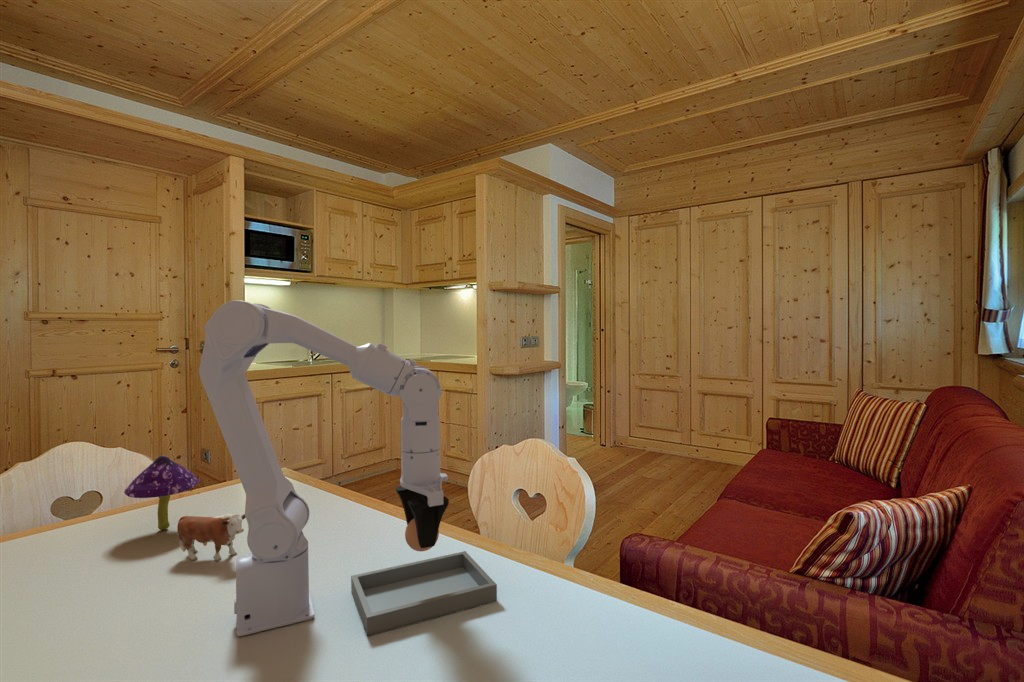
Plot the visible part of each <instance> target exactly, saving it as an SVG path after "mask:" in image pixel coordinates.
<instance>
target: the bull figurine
mask: <svg viewBox="0 0 1024 682" xmlns="http://www.w3.org/2000/svg"><path fill="white" fill-rule="evenodd" d="M243 520H246V517H245V513H244V514H242V515H240V514H239V513H234V514H232V513H226V514H224V515H223V514H222V515H218V516H195V515H183V516H181V517H180V518H179V520H178V523H177V527H176V530H177V534H178V535H177V536H178V544H179V547H180V549H181V551H182V552H184V553H185V552H186V551H187V553H188V555H187V556H188V557H187V558H188V559H190V560H191V561H196V560H198V558H199V557H198V556H197V553H198V552H199V551H198V550H197V548H196V546H195V541H196V542H198V543H200V544H202V545H203V546H204V547H206V546H208V543H214V549H215V553H214V555H213V558H212V559H214V561H216V562H221V560H222V556H221V555H220V552H221V550H222V546H227V547H228V554H229V555H230V556H231V555H234V556H236V554H237V555H238V552H237V551H235V549H234V546H233V545H234V544H233V541H234V540H235V539H236V535H238V534H241V533H243V532H244V528H243V524H242V521H243Z"/></svg>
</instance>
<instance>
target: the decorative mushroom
mask: <svg viewBox="0 0 1024 682" xmlns="http://www.w3.org/2000/svg"><path fill="white" fill-rule="evenodd" d="M199 483H200V479H199V478H198V477H197V476H195V474H194V473H192V472H191V471H190V470H189V469H187V468H186V467H184V466H182V465H181V464H179V463H177V462H175V461H173V460H172V459H171V458H170V457H168V456H166V455H160V456H158V457H157V458H155V460H153V462H152V463H151V464H150V465H149V466H147V467H146V468H144V470H143V471H141V472H140V473H139V474H138V475H137V476H136V477H135V478H134V479H133V480H132V481H131V482H130V484H128V486H127V487H126V488H125V489H124V492H123V493H124V495H126V497H129V498H133V499H134V498H135V499H150V498H159V500H158V505H157V524H158V525H157V528H158V530H161V531H165V530H167V529H169V527H170V526H171V525H170V522H169V502H170V499H171V495H176V494H180V493H184V492H186V491H189V490H191V489H193V488H195V487H196V486H198V484H199Z"/></svg>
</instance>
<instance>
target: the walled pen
mask: <svg viewBox="0 0 1024 682" xmlns="http://www.w3.org/2000/svg"><path fill="white" fill-rule="evenodd" d="M350 577H351V579H350V581H351V582H350V583H351V584H350V585H351V587H350V589H351V590H350V591H351V595H352V598H353V601H354V603H355V606H356V609H357V612H358V614H359V615H358V616H359V617H360V620H361V623H362V626H363V628H364V632H365V635H366V637H371V636H375V635H378V634H383V633H385V632H386V633H387V632H389V631H393V630H396V629H400V628H403V627H408V626H412V625H416V624H419V623H421V622H426V621H429V620H433V619H437V618H441V617H444V616H448V615H452V614H456V613H459V612H462V611H466V610H471V609H474V608H477V607H482V606H484V605H488V604H492V603H495V602H498V595H497V594H498V593H497V592H498V588H497V587H498V585H497V583H496V582H495V581H494V580H493V579H492V578H491V576H489V574H488V573H487V572H486V571H485V570H484V569H483V568H482V567H481V566H480V565H479V564H478V563H477V562H476V561H475V559H473V558H472V556H471V555H469V553H468V552H467V551H466V550H465V551H459V552H455V553H451V554H446V555H440V556H437V557H432V558H426V559H423V560H418V561H417V560H416V561H413V562H409V563H405V564H404V563H403V564H400V565H395V566H391V567H386V568H382V569H378V570H377V569H376V570H372V571H368V572H363V573H358V574H353V575H351V576H350Z"/></svg>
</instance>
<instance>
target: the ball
mask: <svg viewBox="0 0 1024 682" xmlns="http://www.w3.org/2000/svg"><path fill="white" fill-rule="evenodd" d="M406 525H407V524H406ZM404 536H405V537H404V538H405V542H406V544H407V546H409V548H410V549H412V550H414V551H416V552H425V551H428V550H430V549H432V548H433V547H434V546H432V547H427V548H421V547H420V545H419V542H418V537H417V529H416V523H415V519H412V520H411V521H410V522H409V524H408V525H407V526H406V528H405V532H404ZM439 537H440V528H439V529H438V534H437V539H436V543H437V542H438V540H439Z"/></svg>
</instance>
